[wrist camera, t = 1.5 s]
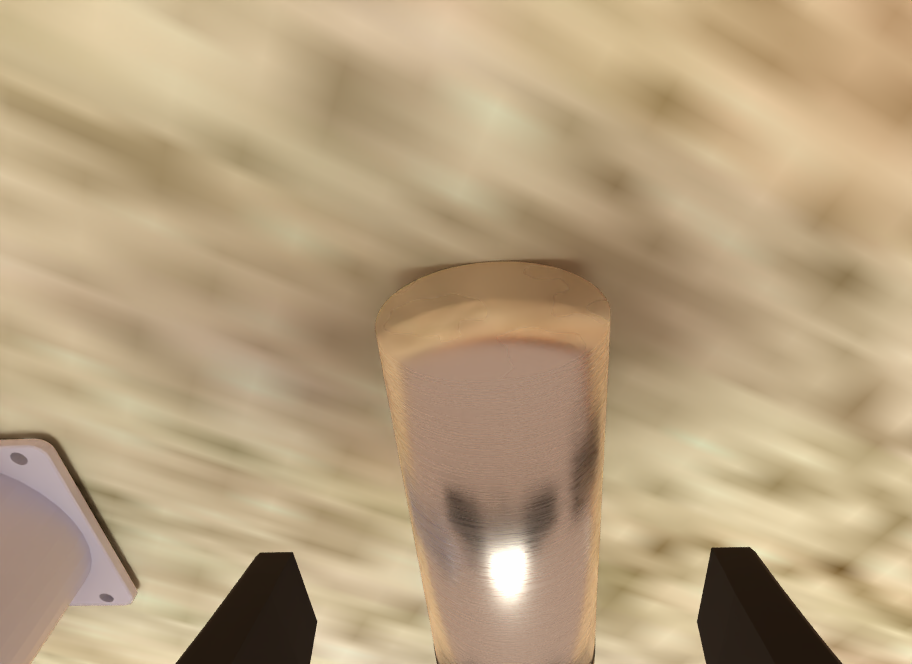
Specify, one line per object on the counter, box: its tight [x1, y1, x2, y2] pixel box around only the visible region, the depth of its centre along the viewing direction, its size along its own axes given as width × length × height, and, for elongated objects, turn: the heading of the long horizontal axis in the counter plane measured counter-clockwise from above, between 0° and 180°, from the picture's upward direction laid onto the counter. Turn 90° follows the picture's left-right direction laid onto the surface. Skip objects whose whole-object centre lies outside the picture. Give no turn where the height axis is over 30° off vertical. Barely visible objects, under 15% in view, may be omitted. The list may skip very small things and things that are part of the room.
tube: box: [375, 261, 611, 664], centre depth 18 cm, size 18×5×5 cm, turn 5°
